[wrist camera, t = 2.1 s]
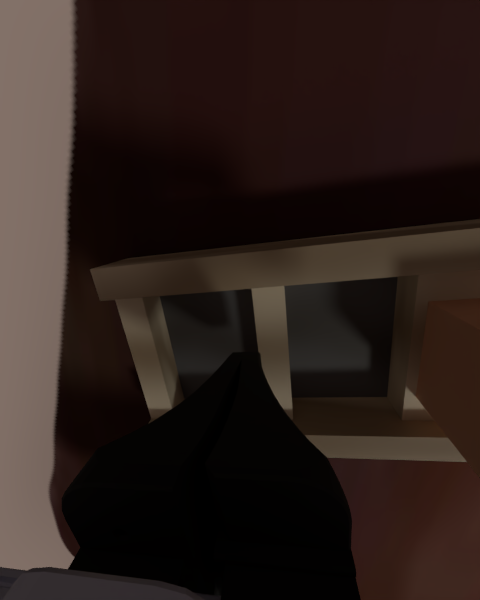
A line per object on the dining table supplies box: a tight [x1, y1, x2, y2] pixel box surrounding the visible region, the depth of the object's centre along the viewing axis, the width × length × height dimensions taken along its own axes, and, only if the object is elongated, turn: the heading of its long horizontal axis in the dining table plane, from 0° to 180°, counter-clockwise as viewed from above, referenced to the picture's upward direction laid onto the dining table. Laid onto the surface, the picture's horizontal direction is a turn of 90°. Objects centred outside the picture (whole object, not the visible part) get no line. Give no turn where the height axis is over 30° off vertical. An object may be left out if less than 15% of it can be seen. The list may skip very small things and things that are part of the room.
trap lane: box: [90, 219, 480, 462], centre depth 11 cm, size 11×30×3 cm, turn 97°
